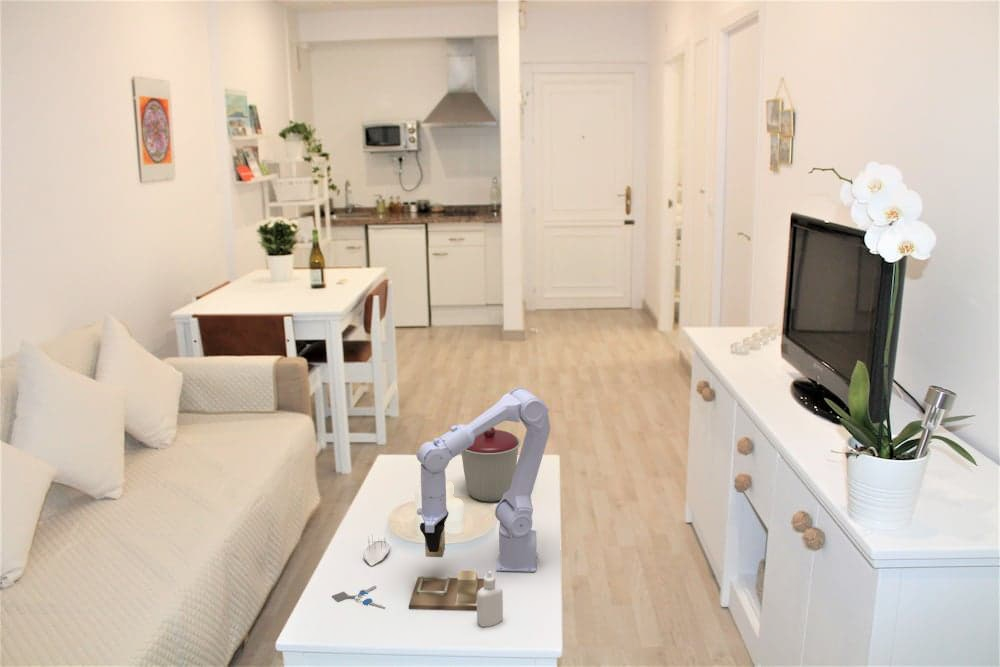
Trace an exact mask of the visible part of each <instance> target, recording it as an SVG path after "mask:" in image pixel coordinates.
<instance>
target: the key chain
mask: <svg viewBox="0 0 1000 667" xmlns="http://www.w3.org/2000/svg"><path fill="white" fill-rule="evenodd" d="M376 588H377V585H373V586H371V587H369V588H368V589H361V590H360V591H359V593H358V594H356V595H349V594H348V593H346V591H342V592H338V593H336V594H333V595H331V597H332V599H334V600H335V602H337V603H341V602H343V601H345V600H353V599H354V600H353V601H355V600H357V602H359V603H360V602H361V603H362V605H363V604H364V605H367V606H369V605H370V604H371V606H374V605H375V606H374V607H376V606H377V608H380V607H381V609H384V610H385V609H386V607H385V606H384V605H382V604H377V603H374V602H373V599H372V598H371V597H369V598H368V597H367V598H366V599H364V600H362V599H363V596H365V595H364V594H367V595H368V594H369V593H370V592H372V591H373V590H375V589H376ZM371 590H372V591H371ZM369 591H370V592H369ZM357 595H358V596H357ZM360 596H361V597H360ZM358 597H359V598H358ZM361 598H362V599H361ZM360 599H361V600H360ZM368 604H369V605H368ZM364 605H363V606H364Z"/></svg>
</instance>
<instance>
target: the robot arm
mask: <svg viewBox="0 0 1000 667" xmlns="http://www.w3.org/2000/svg"><path fill="white" fill-rule="evenodd" d="M549 410H550V409H549V408H548V406H547V405H546V403H545V402H544V401H543V400H542V399H541V398H539V397H537V396H535V395H534V394H533V393H532V392H530V391H529V390H527V389H526V388H524V387H516V388H513V389H512V390H510V392H508V393H505V394H503V395H502V397H501V398H500V399H499V401H497V403H495V404H494V405H492V406H491V407H490V408H488V409H487V410H486V411H484V412H482V413H481V414H480V415H478V417H476V418H475V419H473V420H472V421H471V422H469V423H468V424H462V423H460V424H458V425H455V424H453V425H452V426H450V430H448V431H447V432H445V433H444V434H442V435H441V436H439V437H435V438H433V440H432V441H425V442H424V443H423V444H422V445H420V446H419V448H418V451H417V453H416V459H417V460H418V462H420V494H421V508H417V509H416V514H417V515H418V516H420V515H421V518H422V521H423V522H421V523H420V525H419V529H420V532H421V533H422V536H424V540H425V539H426V542H427V546H428V549H429V552H438V550H439V545H440V538H441V534H442V532H443V529H444V530H445V528H446V525H445V523H446V521H447V519H448V517H449V511H448V508H447V484H446V482H447V481H446V479H447V478H446V469H447V468H448V466H449V463H450V461H452V459H455V457H457V456H458V455H459V454H462V453H461V452H463V451H464V450H466V449H467V448H469V447H470V446H472V445H473V443H474V440H475V437H477V436H478V435H480V434H482V433H483V432H485V431H487V430H489V429H490V428H492V427H494V428H495V427H496V426H497V425H499V424H500V423H503V422H504V421H508V422H515V423H520V422H522V424H523V426H524V428H525V429H526V432H525V436H524V439H523V443H522V446H521V449H520V453H519V455H518V458H517V465H516V469H515V472H514V476H513V479H512V483H511V486H510V490H508V491H507V492H505V493H504V494H503V497H502V499H501V500H499V502H498V503H497V504H496V506H495V509H494V516H495V518H496V519H497V520H498V521H499V527H498V552H499V553H498V557H497V564H496V571H497V572H517V573H518V572H519V573H521V572H524V573H525V572H526V573H533V572H534V573H535V572H536V571H537V560H538V556H539V554H538V552H537V530H534V529H532V528H533V517H532V515H533V512H534V507H533V502H532V498H531V497H532V493H533V489H534V487H535V484H536V480H537V476H538V473H539V470H540V467H541V464H542V460H543V456H544V453H545V450H546V446H547V443H548V438H549V436H550V433H551V423H550V419H549V414H548V413H549Z"/></svg>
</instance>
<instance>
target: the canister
mask: <svg viewBox="0 0 1000 667" xmlns="http://www.w3.org/2000/svg"><path fill="white" fill-rule="evenodd" d="M521 443H522V441H521V439H520V438H519V437H518V436H517V435H514V434H513V433H511V432H508V431H505V430H501V429H495V426H494V427H492V428H490V429H489V430H487V431H485V432H483V433H482V434H480V435H478V436H477V437H475V440H474V443H473V445H472V446H470V447H469V448H467V449H466V450H464V451H463V452H461V453H460V454H461V458H462V460H461V461H462V468H463V473H464V479H465V485H466V486H465V487H466V490H467V492H468V494H469V495H470V496H471V497H472V498H473V499H476V500H477V499H478V500H477V501H481V502H489V503H490V502H497V501H501V499H502V497H503V494H504V493H505V492H507V491H508V490H510V486H511V483H512V479H513V476H514V472H515V469H516V466H517V462H518V457H519V455H518V454H519V448H520V446H521Z"/></svg>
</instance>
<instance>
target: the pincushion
mask: <svg viewBox="0 0 1000 667" xmlns="http://www.w3.org/2000/svg"><path fill="white" fill-rule="evenodd" d="M371 536H372V538H371V539H372V540H371V541H372V542H370V539H369V537H368V539H367V540H368V544H367V546H366V547H365V549H364V553H363V554H364V555H363V558H364V560H365V561H366V563H368V565H369V566H372V567H373V566H374V565H376V564H377V563H379V562H381V561H382V560H384V558H385V556H386V555H388V553H389V551H390V549H391V545H390V543H389V542H387V541H386V539H377V540H374V541H373V535H371Z"/></svg>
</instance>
